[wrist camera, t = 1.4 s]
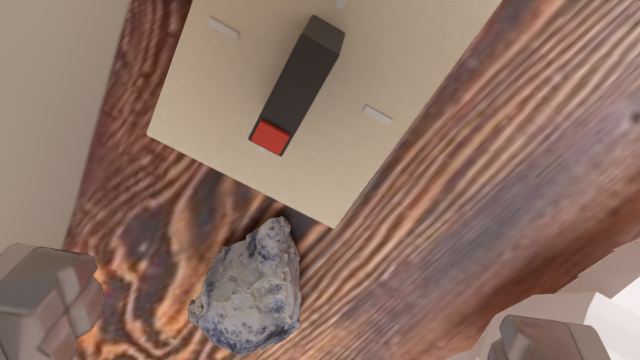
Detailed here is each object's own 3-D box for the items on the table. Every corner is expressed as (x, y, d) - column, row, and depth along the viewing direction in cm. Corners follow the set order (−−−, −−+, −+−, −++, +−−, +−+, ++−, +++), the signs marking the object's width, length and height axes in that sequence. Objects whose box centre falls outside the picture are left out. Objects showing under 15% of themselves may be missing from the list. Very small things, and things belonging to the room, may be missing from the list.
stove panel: (271, -165, 18) (252, -176, 16) (493, -21, 20) (510, -8, 17) (169, 111, 25) (144, 136, 23) (338, 198, 27) (333, 231, 25)
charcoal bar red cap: (312, 13, 19) (299, 34, 16) (346, 32, 19) (339, 57, 16) (264, 109, 21) (245, 142, 18) (294, 125, 22) (280, 160, 19)
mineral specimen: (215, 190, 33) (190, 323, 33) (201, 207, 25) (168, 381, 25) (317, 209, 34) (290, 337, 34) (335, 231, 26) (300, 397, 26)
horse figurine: (467, 280, 41) (827, 134, 21) (442, 491, 31) (1055, 590, 11) (422, 256, 40) (752, 80, 20) (381, 465, 30) (930, 524, 11)
